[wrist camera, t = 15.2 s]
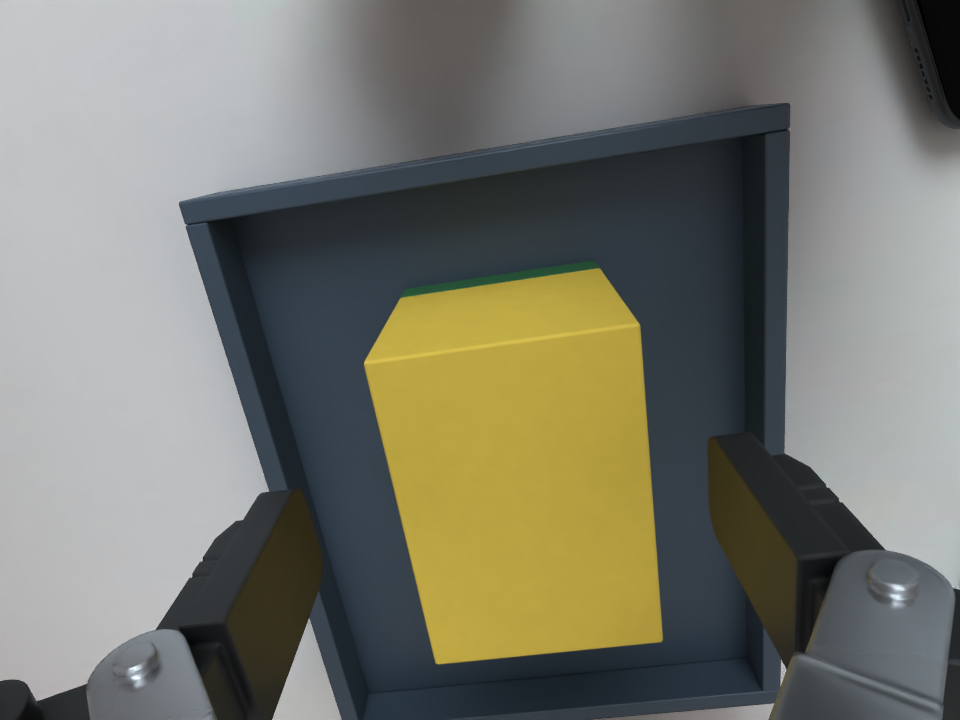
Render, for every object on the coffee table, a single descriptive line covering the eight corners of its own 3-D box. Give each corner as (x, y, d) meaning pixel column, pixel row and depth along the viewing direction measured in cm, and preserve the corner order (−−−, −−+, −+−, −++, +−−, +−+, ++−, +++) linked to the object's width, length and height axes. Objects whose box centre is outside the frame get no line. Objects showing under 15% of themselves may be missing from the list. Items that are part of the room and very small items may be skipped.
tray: (215, 192, 18) (176, 202, 16) (754, 105, 17) (791, 102, 15) (361, 687, 25) (348, 741, 22) (754, 650, 23) (780, 703, 21)
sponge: (404, 288, 18) (361, 362, 12) (594, 259, 18) (640, 322, 12) (452, 520, 21) (435, 666, 15) (618, 500, 20) (663, 643, 15)
